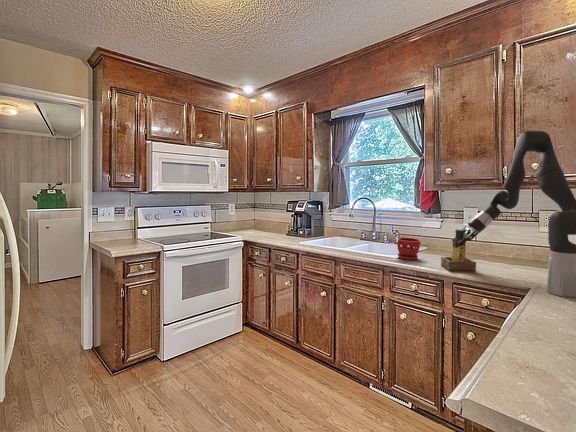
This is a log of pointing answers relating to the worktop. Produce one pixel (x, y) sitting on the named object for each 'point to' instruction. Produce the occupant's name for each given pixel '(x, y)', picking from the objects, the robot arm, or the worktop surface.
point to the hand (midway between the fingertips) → (456, 243)
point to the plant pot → (408, 248)
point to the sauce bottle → (458, 247)
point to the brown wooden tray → (458, 265)
